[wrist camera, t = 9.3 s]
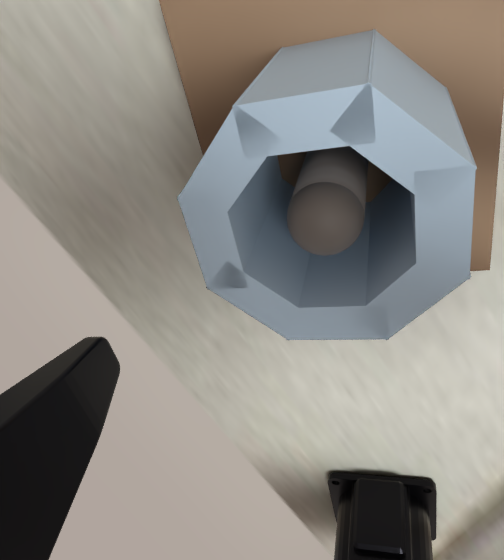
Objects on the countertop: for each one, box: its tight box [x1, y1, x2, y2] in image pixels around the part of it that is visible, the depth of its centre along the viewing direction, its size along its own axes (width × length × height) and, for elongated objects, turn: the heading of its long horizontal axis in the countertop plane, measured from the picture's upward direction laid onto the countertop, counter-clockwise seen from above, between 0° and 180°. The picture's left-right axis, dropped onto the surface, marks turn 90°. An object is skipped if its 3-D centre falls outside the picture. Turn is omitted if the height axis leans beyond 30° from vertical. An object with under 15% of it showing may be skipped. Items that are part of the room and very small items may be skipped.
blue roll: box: [177, 29, 477, 340], centre depth 14 cm, size 7×7×6 cm
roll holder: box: [159, 0, 504, 271], centre depth 14 cm, size 11×10×8 cm
